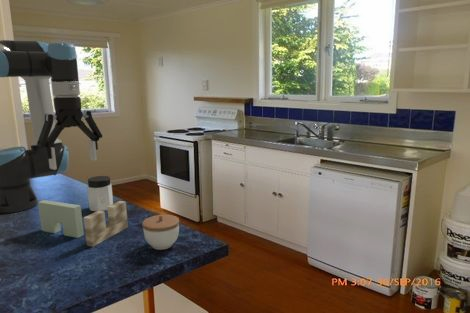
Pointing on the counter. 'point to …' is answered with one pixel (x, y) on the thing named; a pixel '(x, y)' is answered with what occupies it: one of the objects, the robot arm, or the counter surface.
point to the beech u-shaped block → (97, 225)
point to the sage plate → (61, 218)
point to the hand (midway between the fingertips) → (74, 164)
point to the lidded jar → (161, 231)
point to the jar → (99, 193)
